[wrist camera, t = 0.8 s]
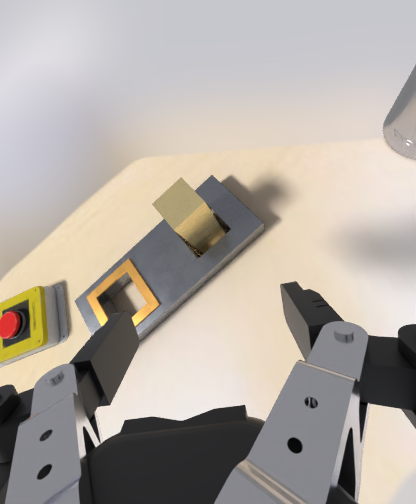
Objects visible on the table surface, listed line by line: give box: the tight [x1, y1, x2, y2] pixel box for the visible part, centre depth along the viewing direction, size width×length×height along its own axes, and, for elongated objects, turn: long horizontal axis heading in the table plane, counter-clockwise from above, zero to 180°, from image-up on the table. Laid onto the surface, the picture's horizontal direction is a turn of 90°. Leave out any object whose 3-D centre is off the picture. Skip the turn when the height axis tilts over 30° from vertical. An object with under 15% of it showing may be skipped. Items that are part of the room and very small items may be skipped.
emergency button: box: [0, 284, 68, 368], centre depth 35 cm, size 9×4×15 cm
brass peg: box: [152, 178, 225, 254], centre depth 27 cm, size 4×4×10 cm
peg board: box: [75, 175, 264, 342], centre depth 31 cm, size 26×10×3 cm, turn 129°
